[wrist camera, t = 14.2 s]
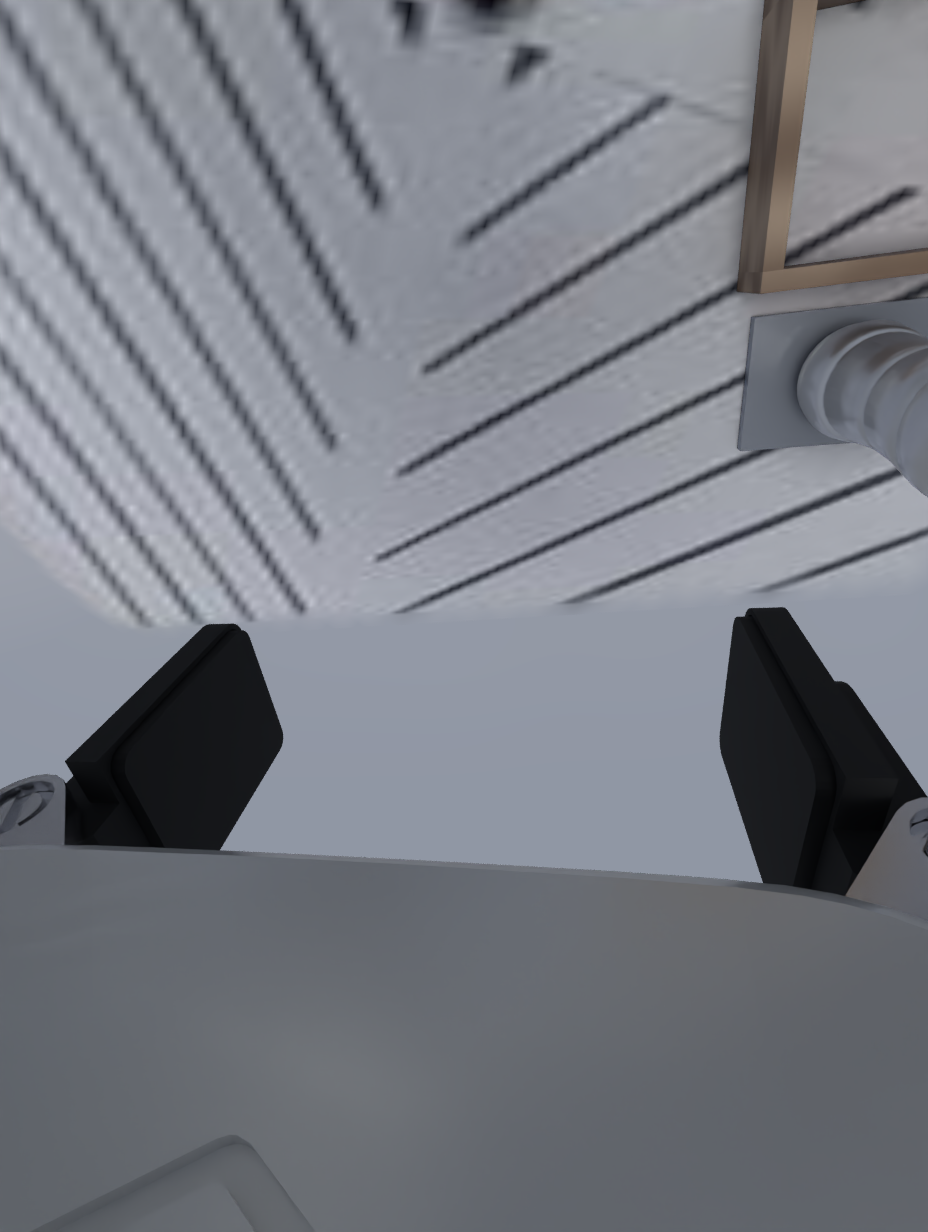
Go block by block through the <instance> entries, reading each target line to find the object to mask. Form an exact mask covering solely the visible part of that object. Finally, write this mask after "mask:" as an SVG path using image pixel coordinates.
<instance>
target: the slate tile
mask: <svg viewBox="0 0 928 1232" xmlns="http://www.w3.org/2000/svg"><path fill="white" fill-rule="evenodd" d="M870 320H890V321H895V322H899V323H901V324H903V325H906V326H908V327H910V328H912V329H914V330H916V331H918V332H919V333H920V334H922V335H923V336H924V337H925V338H927V339H928V297H919V298H911V299H902V300H894V301H885V302H876V303H868V304H859V305H851V306H842V307H834V308H825V309H817V310H808V311H799V312H791V313H782V314H774V315H765V316H757V317H751V326H750V336H749V345H748V354H747V363H746V372H745V382H744V391H743V400H742V409H741V418H740V428H739V437H738V446H737V448H738V449H739V450H740V451H749V450H762V449H775V448H788V447H801V446H814V445H827V444H840V443H851V442H846V441H841V440H837V439H834V438H831V437H828V436H826V435H824V434H822V433H820V432H819V431H818V430H816V429H815V428H814V427H813V426H812V425H811V424H810V422H809V421H808V420H807V418H806V417H805V415H804V413H803V411H802V409H801V407H800V405H799V402H798V397H797V383H798V378H799V374H800V371H801V369H802V366H803V364H804V362H805V360H806V359H807V357H808V355H809V354H810V353H811V351H812V350H813V349H814V348H815V347H816V346H817V344H819V343H820V342H821V341H822V340H823V339H824V338H826V337H827V336H828V335H830V334H832V333H833V332H835V331H836V330H838V329H841V328H843V327H846V326H848V325H852V324H856V323H861V322H865V321H870Z"/></svg>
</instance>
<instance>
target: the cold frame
mask: <svg viewBox="0 0 928 1232" xmlns="http://www.w3.org/2000/svg"><path fill="white" fill-rule="evenodd" d="M859 1H864V0H765V2H764V12H763V23H762V33H761V44H760V54H759V64H758V75H757V85H756V96H755V106H754V117H753V127H752V138H751V148H750V158H749V169H748V179H747V190H746V200H745V211H744V221H743V231H742V242H741V252H740V263H739V273H738V284H737V292H747V293H757V294H763V293H771V292H779V291H787V290H795V289H803V288H812V287H820V286H828V285H836V284H844V283H852V282H860V281H868V280H876V279H884V278H893V277H901V276H909V275H917V274H925V273H928V248H922V249H914V250H907V251H899V252H891V253H884V254H876V255H868V256H861V257H853V258H845V259H838V260H830V261H822V262H815V263H807V264H799V265H792V266H784V262H785V254H786V246H787V238H788V230H789V223H790V215H791V207H792V199H793V191H794V184H795V176H796V168H797V160H798V152H799V144H800V137H801V129H802V121H803V113H804V105H805V98H806V90H807V82H808V74H809V66H810V59H811V51H812V43H813V35H814V27H815V20H816V12H817V10H820V9H825V8H830V7H835V6H839V5H844V4H849V3H854V2H859Z"/></svg>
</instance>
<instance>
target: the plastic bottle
mask: <svg viewBox="0 0 928 1232" xmlns="http://www.w3.org/2000/svg"><path fill="white" fill-rule="evenodd" d="M797 397H798V402H799V405H800V407H801V409H802V411H803V413H804V415H805V417H806V418H807V420H808V421H809V422H810V424H811V425H812V426H813V427H814V428H815V429H816V430H818V431H819V432H820V433H822V434H824V435H826V436H828V437H831V438H834V439H837V440H841V441H846V442H851V443H859V444H862V445H864V446H867V447H870V448H873V449H874V450H876V451H877V452H878V453H880V454H881V455H883V456H884V457H885V458H887V459H888V460H889V461H890V462H891V463H892V464H893V465H894V466H895V467H896V468H897V469H898V470H899V471H900V473H901V474H902V475H903V476H904V477H905V478H906V479H907V480H908V481H909V482H910V484H911V485H912V486H914V487H915V488H916V489H918V490H919V491H920V492H921V493H923V494H924V495H925V496H927V497H928V339H927V338H925V337H924V336H923V335H922V334H920V333H919V332H918V331H916V330H914V329H912V328H910V327H908V326H906V325H903V324H901V323H899V322H895V321H890V320H870V321H865V322H861V323H856V324H852V325H848V326H846V327H843V328H841V329H838V330H836V331H835V332H833V333H832V334H830V335H828V336H827V337H826V338H824V339H823V340H822V341H821V342H820V343H819V344H817V346H816V347H815V348H814V349H813V350H812V351H811V353H810V354H809V355H808V357H807V359H806V360H805V362H804V364H803V366H802V369H801V371H800V374H799V378H798V383H797Z"/></svg>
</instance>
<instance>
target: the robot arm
mask: <svg viewBox="0 0 928 1232" xmlns="http://www.w3.org/2000/svg"><path fill="white" fill-rule="evenodd" d="M282 743H283V732H282V728H281V725H280V723H279V720H278V717H277V714H276V711H275V708H274V706H273V703H272V700H271V697H270V694H269V691H268V688H267V686H266V683H265V680H264V677H263V674H262V671H261V669H260V666H259V663H258V660H257V657H256V654H255V651H254V649H253V646H252V643H251V640H250V637H249V635H248V634H247V632H245V631H243V630H241V628H240V627H239V626H238V625H236V624H209V625H206V626H204V627H203V628H202V629H201V630H200V631H199V632H197V633H196V634H195V635H194V636H193V637H192V638H191V639H190V640H189V641H188V642H187V643H186V644H185V645H184V646H183V647H182V648H181V649H180V650H179V651H178V652H177V653H176V654H175V655H174V656H173V657H172V658H171V659H170V660H169V661H168V662H167V663H166V664H165V665H164V666H163V667H162V668H160V669H159V670H158V672H156V673H155V674H154V675H153V676H152V677H151V678H150V679H149V680H148V681H147V682H146V683H145V684H144V685H143V686H142V687H141V688H140V689H139V690H138V691H137V692H136V693H135V694H134V695H133V696H132V697H131V698H130V699H129V700H128V701H127V702H126V703H124V704H123V705H122V706H121V707H120V708H119V709H118V710H117V711H116V712H115V713H114V714H113V715H112V716H111V717H110V718H109V719H108V720H107V721H106V722H105V723H104V724H103V725H102V726H101V727H100V728H99V729H98V730H97V731H96V732H95V733H94V734H93V735H92V736H91V737H90V738H89V739H87V740H86V741H85V742H84V743H83V744H82V745H81V746H80V747H79V748H78V749H77V750H76V751H75V752H74V753H73V754H72V755H71V756H70V757H69V758H68V759H67V760H66V761H65V762H66V764H67V766H68V767H69V769H70V771H71V772H72V774H73V777H72V778H71V779H70V780H69V781H68V782H67V783H65V782H64V780H63V779H62V778H60V777H58V776H57V775H49V774H44V775H36V776H31V777H28V778H25V779H22V780H19V781H17V782H14V783H12V784H10V785H8V786H6V787H4V788H2V789H0V1232H928V797H927V796H926V794H925V793H924V791H923V790H922V788H921V787H920V786H919V784H918V783H917V781H916V780H915V778H914V777H913V776H912V774H911V773H910V771H909V770H908V768H907V767H906V765H905V764H904V762H903V761H902V759H901V758H900V757H899V755H898V754H897V752H896V751H895V749H894V748H893V746H892V745H891V744H890V742H889V741H888V739H887V738H886V737H885V735H884V733H883V732H882V731H881V729H880V728H879V726H878V725H877V723H876V722H875V720H874V719H873V718H872V716H871V715H870V714H869V712H868V710H867V709H866V708H865V706H864V705H863V703H862V702H861V700H860V699H859V697H858V696H857V695H856V693H855V692H854V690H853V689H852V688H851V687H850V686H849V685H848V684H847V683H844V682H842V681H839V682H838V681H837V682H836V681H834V680H833V678H832V677H831V675H830V674H829V672H828V671H827V669H826V668H825V666H824V665H823V663H822V662H821V660H820V659H819V657H818V656H817V654H816V653H815V651H814V650H813V648H812V647H811V645H810V643H809V642H808V640H807V639H806V637H805V636H804V634H803V633H802V632H801V630H800V628H799V627H798V625H797V624H796V622H795V621H794V620H793V618H792V617H791V615H790V613H789V612H788V610H787V609H786V608H783V607H778V608H749V609H748V610H747V612H746V615H745V617H736V618H735V620H734V624H733V632H732V639H731V648H730V656H729V664H728V672H727V680H726V689H725V696H724V705H723V712H722V721H721V729H720V749H721V754H722V758H723V761H724V764H725V767H726V770H727V773H728V776H729V779H730V782H731V785H732V789H733V792H734V795H735V798H736V801H737V804H738V807H739V810H740V813H741V816H742V819H743V823H744V825H745V829H746V832H747V835H748V838H749V841H750V844H751V847H752V850H753V853H754V856H755V860H756V862H757V866H758V868H759V872H760V875H761V878H762V881H763V883H756V882H745V881H737V880H728V879H716V878H715V879H714V878H704V877H691V876H676V875H660V874H645V873H632V872H631V873H630V872H618V871H601V870H583V869H566V868H548V867H529V866H513V865H496V864H479V863H461V862H441V861H423V860H404V859H385V858H366V857H346V856H345V857H344V856H326V855H306V854H286V853H265V852H243V851H220V849H221V847H222V846H223V844H224V842H225V841H226V839H227V837H228V836H229V834H230V832H231V831H232V829H233V827H234V826H235V824H236V822H237V821H238V819H239V817H240V816H241V814H242V812H243V811H244V809H245V807H246V806H247V804H248V802H249V801H250V799H251V797H252V796H253V794H254V792H255V791H256V789H257V787H258V786H259V784H260V782H261V781H262V779H263V777H264V776H265V774H266V772H267V771H268V769H269V767H270V766H271V764H272V762H273V761H274V759H275V757H276V756H277V754H278V752H279V751H280V749H281V747H282Z"/></svg>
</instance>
